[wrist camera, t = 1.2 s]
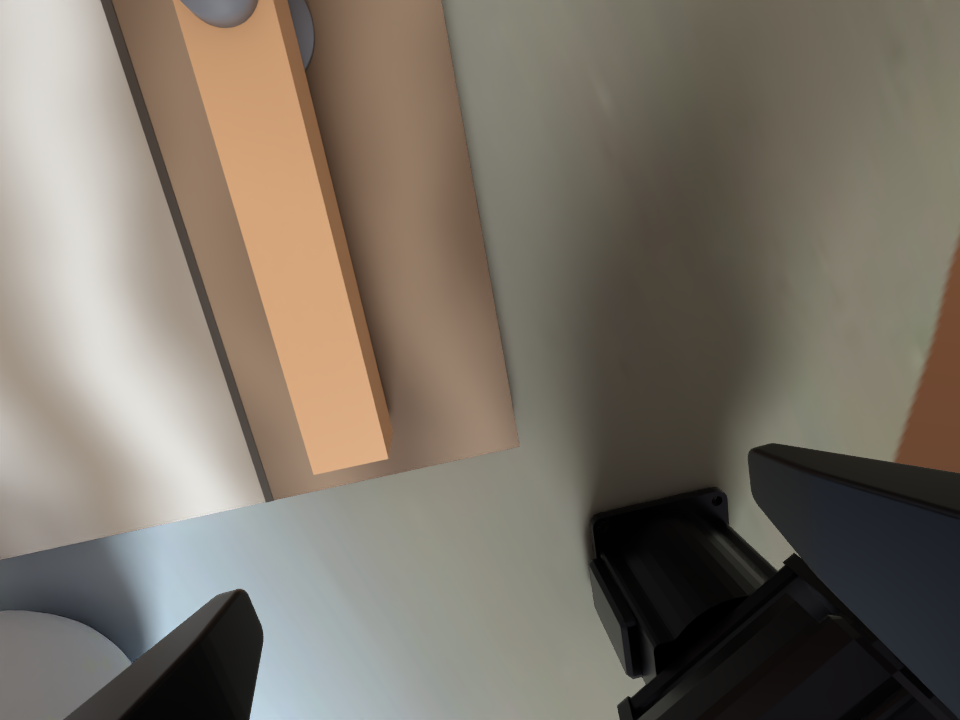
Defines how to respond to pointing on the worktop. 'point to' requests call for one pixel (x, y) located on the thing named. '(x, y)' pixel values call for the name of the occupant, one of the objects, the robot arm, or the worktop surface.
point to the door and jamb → (218, 269)
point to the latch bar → (290, 223)
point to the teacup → (51, 665)
